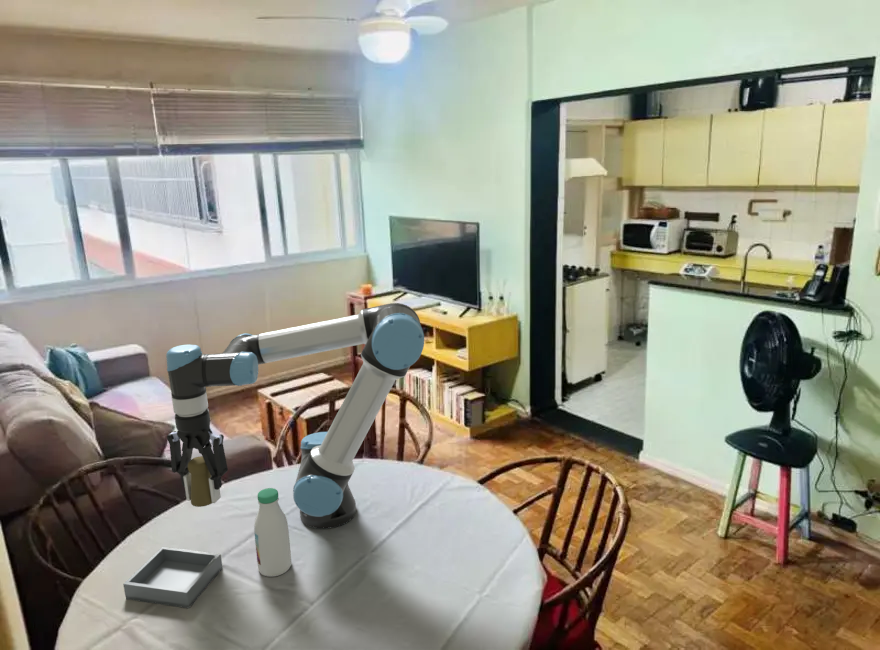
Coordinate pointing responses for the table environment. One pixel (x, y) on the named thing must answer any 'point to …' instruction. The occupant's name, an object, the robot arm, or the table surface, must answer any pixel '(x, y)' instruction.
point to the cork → (199, 482)
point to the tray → (173, 577)
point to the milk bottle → (271, 535)
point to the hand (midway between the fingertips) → (203, 498)
